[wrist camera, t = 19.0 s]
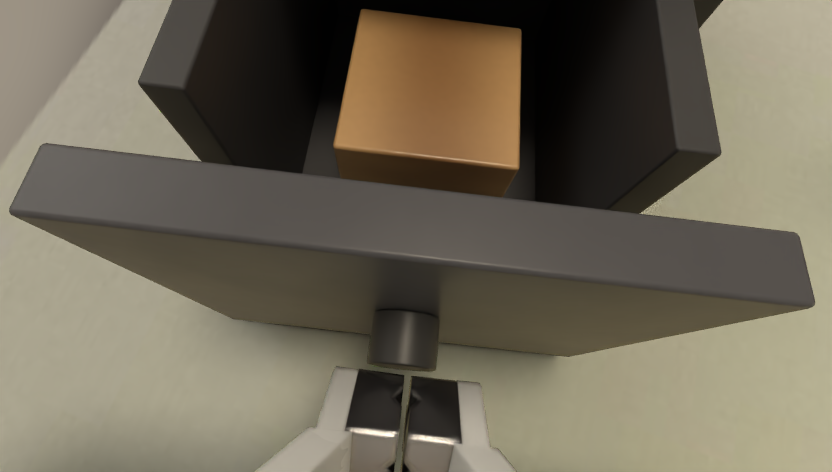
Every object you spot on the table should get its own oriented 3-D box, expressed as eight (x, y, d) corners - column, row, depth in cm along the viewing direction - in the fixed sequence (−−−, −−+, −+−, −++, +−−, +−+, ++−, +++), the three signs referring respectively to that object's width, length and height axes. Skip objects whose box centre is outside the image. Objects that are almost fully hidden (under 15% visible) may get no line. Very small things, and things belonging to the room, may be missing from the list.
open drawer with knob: (571, 394, 14) (841, 397, 6) (221, 355, 14) (-40, 299, 5) (561, 50, 19) (693, -212, 11) (309, 19, 19) (245, -274, 11)
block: (350, 227, 14) (331, 146, 10) (369, 120, 16) (360, 6, 11) (478, 242, 14) (520, 169, 10) (483, 134, 16) (522, 27, 11)
